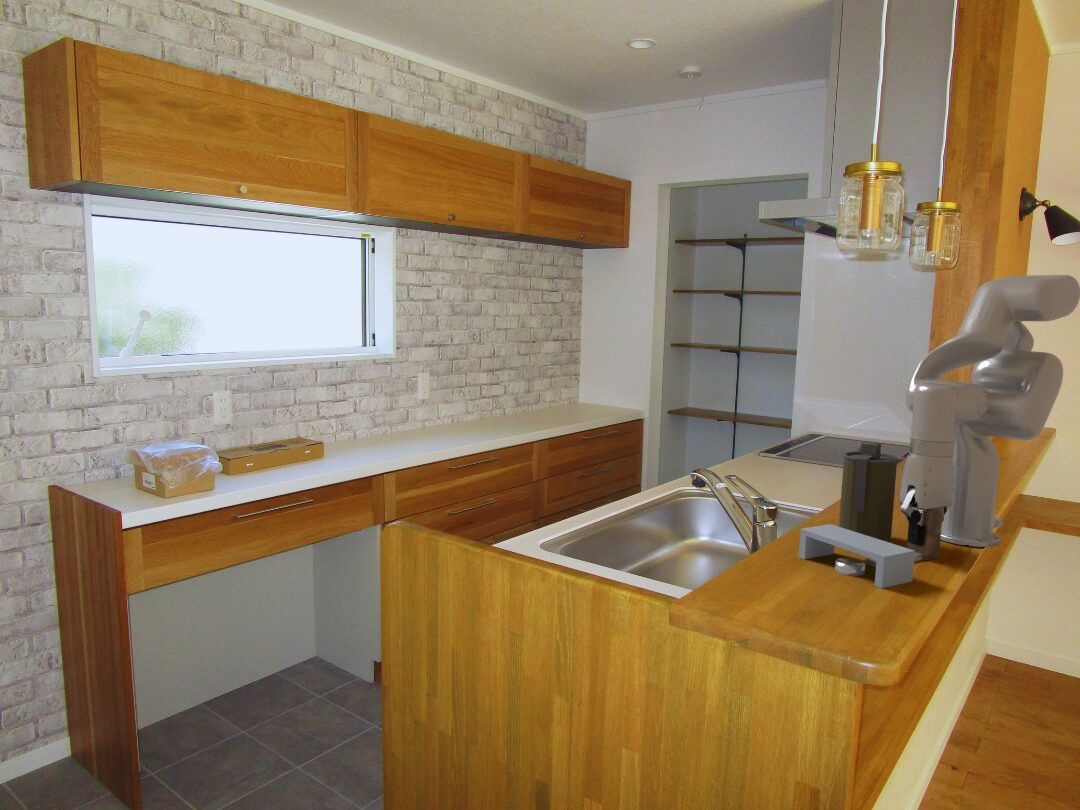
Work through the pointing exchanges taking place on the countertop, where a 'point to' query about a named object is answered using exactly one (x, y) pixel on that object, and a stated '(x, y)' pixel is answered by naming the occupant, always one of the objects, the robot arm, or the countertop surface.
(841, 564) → the token
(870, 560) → the pusher
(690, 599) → the countertop surface
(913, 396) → the robot arm
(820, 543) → the shelf
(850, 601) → the countertop surface
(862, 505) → the canister
